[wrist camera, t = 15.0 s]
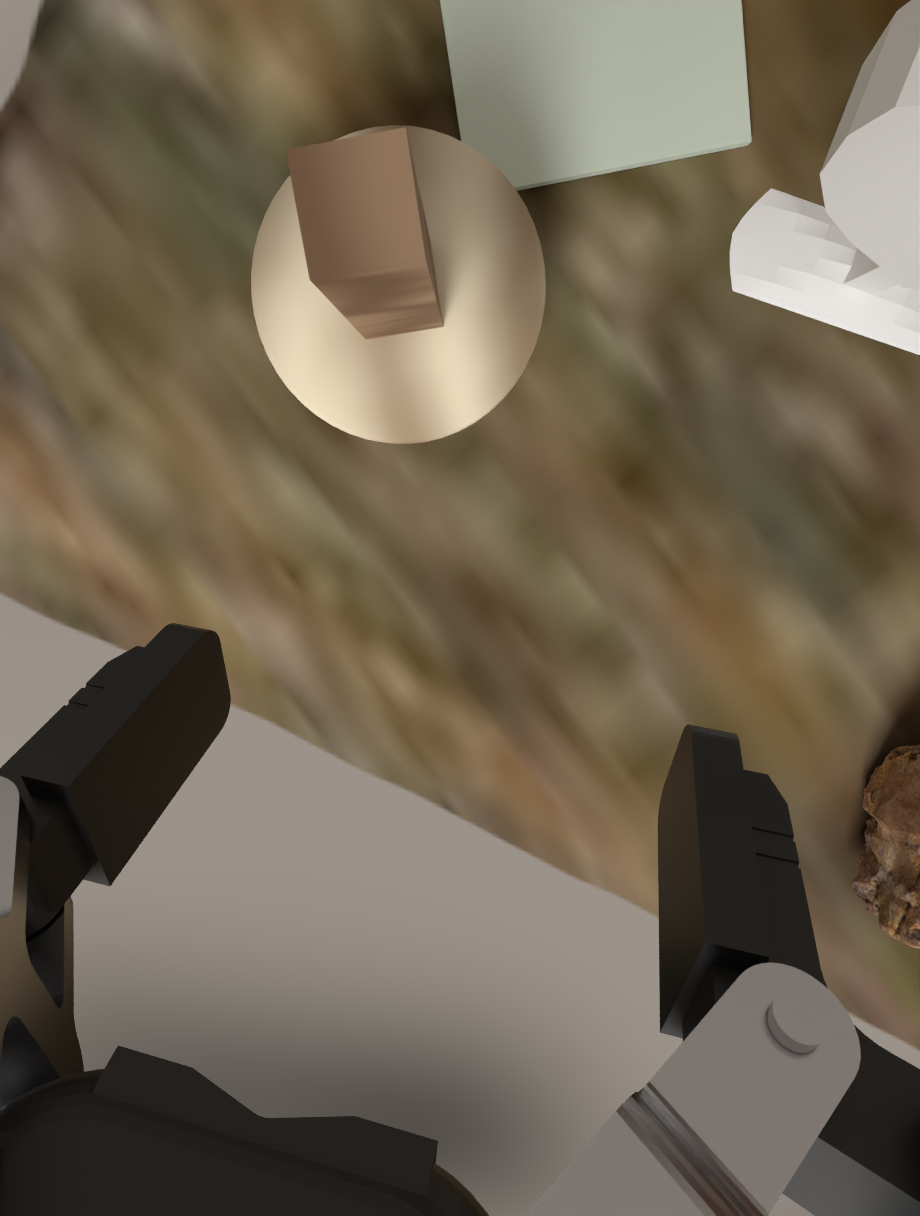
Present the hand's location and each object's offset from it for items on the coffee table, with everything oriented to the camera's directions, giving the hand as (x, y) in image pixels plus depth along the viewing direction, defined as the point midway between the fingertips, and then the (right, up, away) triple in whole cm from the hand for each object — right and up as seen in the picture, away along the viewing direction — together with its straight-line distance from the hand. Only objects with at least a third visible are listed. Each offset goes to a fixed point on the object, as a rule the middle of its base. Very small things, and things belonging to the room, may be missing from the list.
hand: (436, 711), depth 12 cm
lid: (-2, +16, +20) cm, 25 cm away
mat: (+7, +30, +21) cm, 38 cm away
